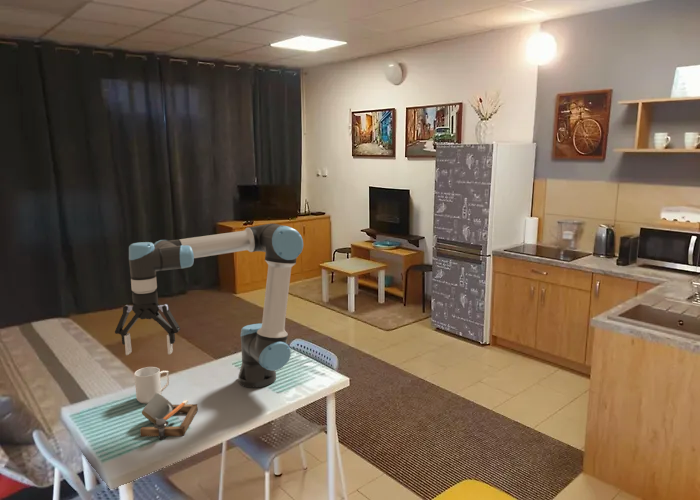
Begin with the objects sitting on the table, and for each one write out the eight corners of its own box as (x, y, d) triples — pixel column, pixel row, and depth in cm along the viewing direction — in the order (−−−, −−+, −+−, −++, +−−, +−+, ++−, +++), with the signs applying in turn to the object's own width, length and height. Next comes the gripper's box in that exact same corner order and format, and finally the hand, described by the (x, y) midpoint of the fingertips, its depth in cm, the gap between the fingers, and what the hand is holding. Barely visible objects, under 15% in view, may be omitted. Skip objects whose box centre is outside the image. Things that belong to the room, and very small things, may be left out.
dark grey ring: (171, 434, 160) (170, 420, 160) (166, 442, 156) (165, 427, 155) (157, 434, 160) (156, 420, 160) (152, 442, 156) (151, 428, 155)
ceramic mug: (153, 425, 169) (137, 410, 167) (170, 406, 174) (155, 391, 172) (160, 427, 161) (143, 412, 159) (179, 407, 165) (163, 392, 163)
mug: (138, 406, 179) (136, 378, 177) (134, 397, 186) (132, 370, 184) (172, 398, 185) (170, 371, 183) (167, 389, 193) (165, 363, 191)
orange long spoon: (190, 403, 171) (190, 400, 171) (162, 426, 156) (161, 423, 156) (183, 402, 172) (183, 399, 171) (154, 425, 156) (154, 422, 156)
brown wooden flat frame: (197, 410, 176) (197, 404, 176) (183, 435, 160) (183, 428, 159) (158, 411, 176) (158, 404, 175) (140, 436, 159) (140, 429, 159)
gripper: (187, 287, 160) (191, 348, 164) (110, 288, 160) (116, 349, 163) (180, 293, 153) (184, 356, 157) (99, 294, 152) (106, 358, 156)
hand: (149, 353), depth 160 cm, fingers open, 13 cm apart
